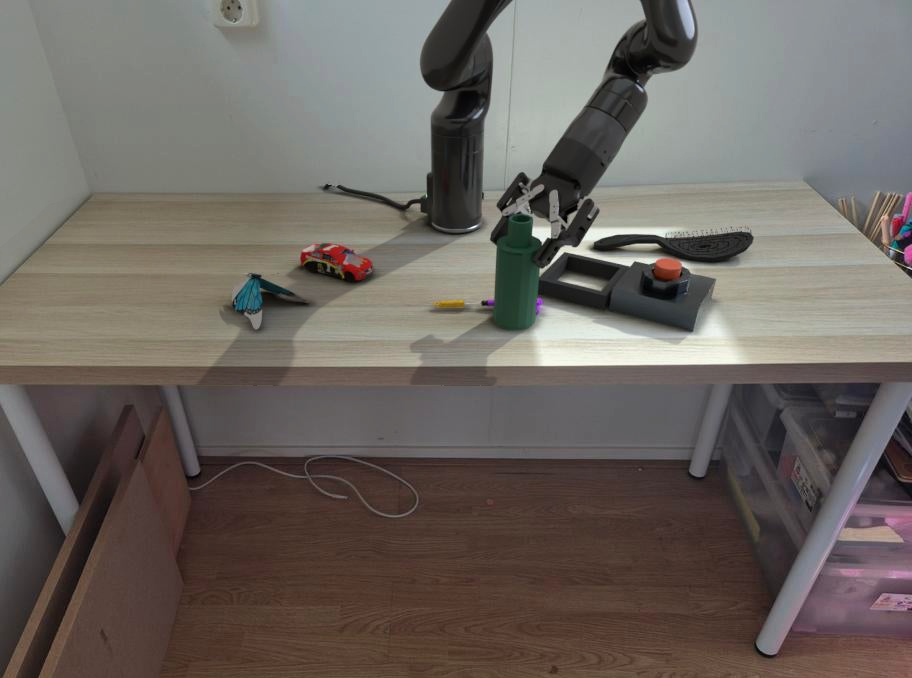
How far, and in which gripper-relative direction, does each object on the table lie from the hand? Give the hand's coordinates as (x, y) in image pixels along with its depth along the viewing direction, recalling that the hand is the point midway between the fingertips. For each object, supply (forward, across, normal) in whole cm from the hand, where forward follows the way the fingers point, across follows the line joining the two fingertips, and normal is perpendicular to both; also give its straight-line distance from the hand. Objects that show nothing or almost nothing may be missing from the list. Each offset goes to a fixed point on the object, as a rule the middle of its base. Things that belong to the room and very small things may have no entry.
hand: (515, 254), depth 96 cm
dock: (-3, 0, +18) cm, 18 cm away
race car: (+16, -29, -1) cm, 33 cm away
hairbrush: (-18, 0, +33) cm, 37 cm away
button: (-10, +11, +18) cm, 23 cm away
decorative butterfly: (+26, -26, -11) cm, 39 cm away
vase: (+7, 0, +8) cm, 10 cm away
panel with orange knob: (-7, +11, +21) cm, 25 cm away
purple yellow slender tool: (+2, 0, +11) cm, 11 cm away
